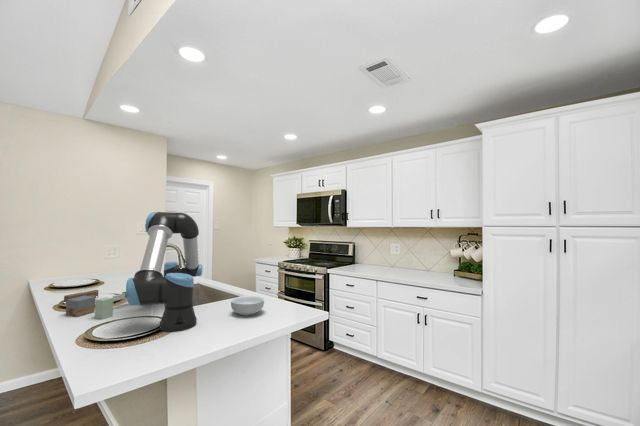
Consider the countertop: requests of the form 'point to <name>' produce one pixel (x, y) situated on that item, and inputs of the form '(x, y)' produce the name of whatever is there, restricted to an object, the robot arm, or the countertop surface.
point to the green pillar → (103, 308)
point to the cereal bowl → (247, 305)
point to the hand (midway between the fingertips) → (122, 299)
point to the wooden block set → (89, 293)
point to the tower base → (80, 311)
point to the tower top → (80, 302)
